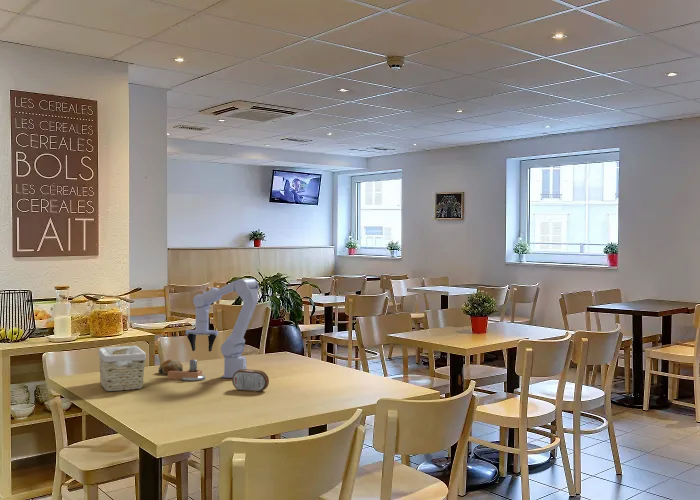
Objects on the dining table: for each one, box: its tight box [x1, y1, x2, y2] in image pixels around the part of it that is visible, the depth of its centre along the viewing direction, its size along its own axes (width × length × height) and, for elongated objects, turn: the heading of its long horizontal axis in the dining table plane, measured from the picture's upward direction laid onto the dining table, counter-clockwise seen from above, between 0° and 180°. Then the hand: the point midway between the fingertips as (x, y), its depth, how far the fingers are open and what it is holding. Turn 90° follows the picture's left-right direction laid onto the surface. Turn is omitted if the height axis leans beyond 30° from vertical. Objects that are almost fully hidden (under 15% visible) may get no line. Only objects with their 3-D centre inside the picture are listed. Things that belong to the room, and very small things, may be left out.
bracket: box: [167, 369, 203, 380], centre depth 285 cm, size 14×6×3 cm, turn 84°
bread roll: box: [158, 358, 184, 376], centre depth 298 cm, size 10×10×8 cm
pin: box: [189, 359, 198, 372], centre depth 285 cm, size 3×3×7 cm
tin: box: [231, 368, 270, 393], centre depth 263 cm, size 15×3×8 cm, turn 74°
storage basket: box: [98, 345, 147, 392], centre depth 270 cm, size 24×16×15 cm
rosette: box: [180, 374, 206, 382], centre depth 285 cm, size 10×10×1 cm
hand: (201, 350), depth 299 cm, fingers open, 7 cm apart
